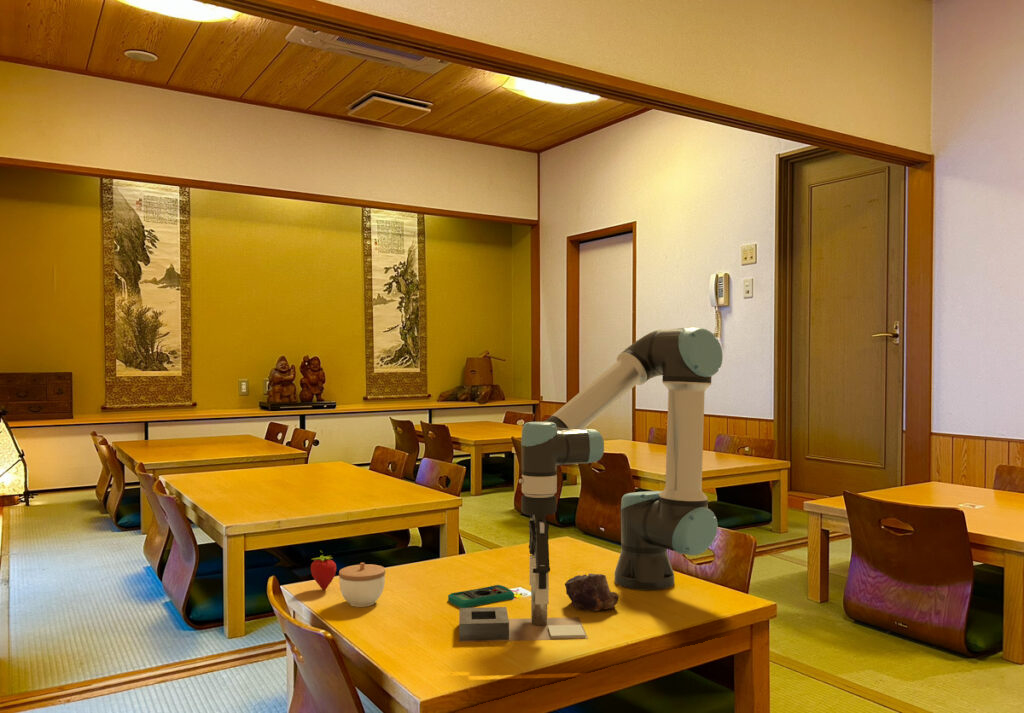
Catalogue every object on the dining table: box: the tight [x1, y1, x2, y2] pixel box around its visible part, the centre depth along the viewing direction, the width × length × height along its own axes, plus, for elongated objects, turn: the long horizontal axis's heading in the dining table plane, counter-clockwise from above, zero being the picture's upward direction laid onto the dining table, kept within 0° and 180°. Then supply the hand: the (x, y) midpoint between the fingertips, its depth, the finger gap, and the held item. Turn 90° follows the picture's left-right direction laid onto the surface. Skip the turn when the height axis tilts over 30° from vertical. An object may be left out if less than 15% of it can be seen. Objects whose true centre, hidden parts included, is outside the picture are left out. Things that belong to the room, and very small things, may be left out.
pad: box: [548, 625, 585, 639], centre depth 158 cm, size 7×6×1 cm
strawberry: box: [310, 550, 337, 591], centre depth 191 cm, size 6×8×10 cm
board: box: [458, 616, 589, 643], centre depth 161 cm, size 26×13×1 cm, turn 93°
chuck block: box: [458, 606, 509, 641], centre depth 159 cm, size 10×10×3 cm
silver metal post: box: [530, 556, 548, 626], centre depth 164 cm, size 3×3×15 cm
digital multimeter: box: [447, 584, 515, 609], centre depth 181 cm, size 7×15×3 cm, turn 122°
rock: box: [564, 573, 620, 613], centre depth 175 cm, size 12×9×10 cm
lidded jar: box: [338, 562, 386, 608], centre depth 181 cm, size 11×11×9 cm
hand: (538, 594), depth 164 cm, fingers open, 13 cm apart
